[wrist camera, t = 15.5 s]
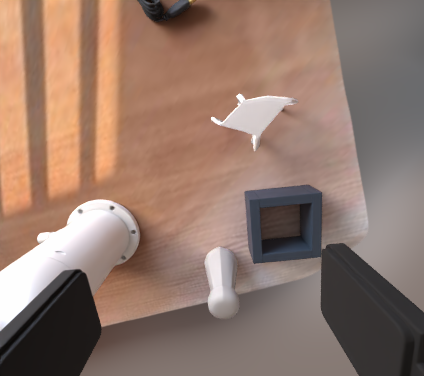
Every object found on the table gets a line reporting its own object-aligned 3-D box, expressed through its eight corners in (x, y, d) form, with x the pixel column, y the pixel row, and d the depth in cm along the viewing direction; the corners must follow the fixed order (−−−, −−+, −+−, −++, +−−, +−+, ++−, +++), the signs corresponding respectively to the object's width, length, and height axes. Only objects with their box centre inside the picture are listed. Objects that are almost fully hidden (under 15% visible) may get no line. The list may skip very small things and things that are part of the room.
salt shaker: (242, 252, 42) (255, 305, 30) (224, 275, 44) (230, 334, 31) (215, 236, 42) (218, 283, 29) (198, 260, 43) (193, 315, 30)
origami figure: (237, 160, 38) (241, 164, 33) (208, 116, 36) (208, 115, 32) (300, 117, 36) (314, 116, 32) (274, 70, 35) (284, 60, 30)
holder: (248, 248, 42) (253, 263, 37) (244, 191, 39) (249, 200, 35) (308, 242, 42) (321, 257, 37) (308, 184, 39) (322, 192, 34)
